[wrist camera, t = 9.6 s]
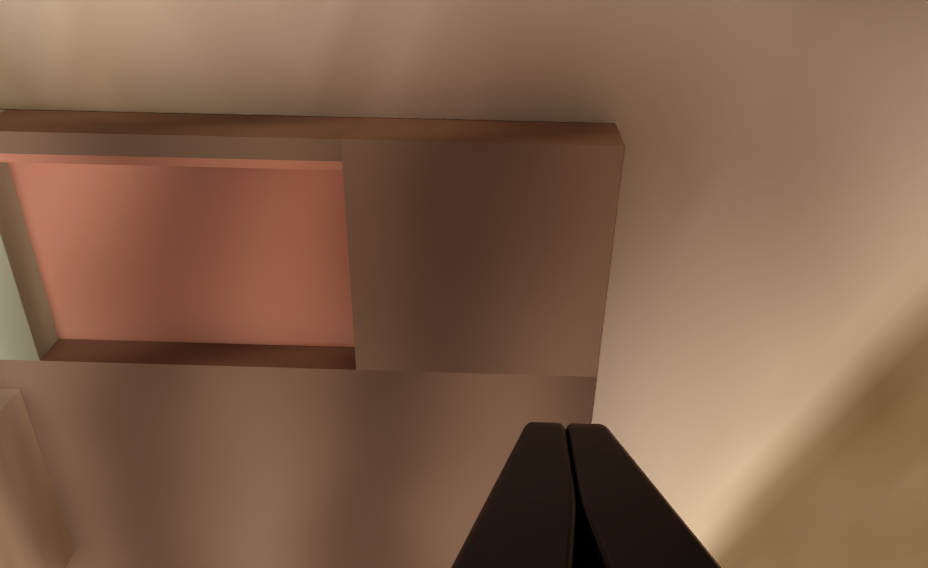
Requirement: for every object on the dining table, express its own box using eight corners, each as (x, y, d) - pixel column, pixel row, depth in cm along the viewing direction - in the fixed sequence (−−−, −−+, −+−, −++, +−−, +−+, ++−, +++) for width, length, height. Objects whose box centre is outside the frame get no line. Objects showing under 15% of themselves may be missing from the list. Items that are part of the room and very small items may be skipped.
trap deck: (615, 123, 18) (633, 166, 15) (553, 672, 28) (559, 749, 25) (-376, 101, 18) (-504, 139, 16) (-88, 649, 28) (-141, 722, 26)
